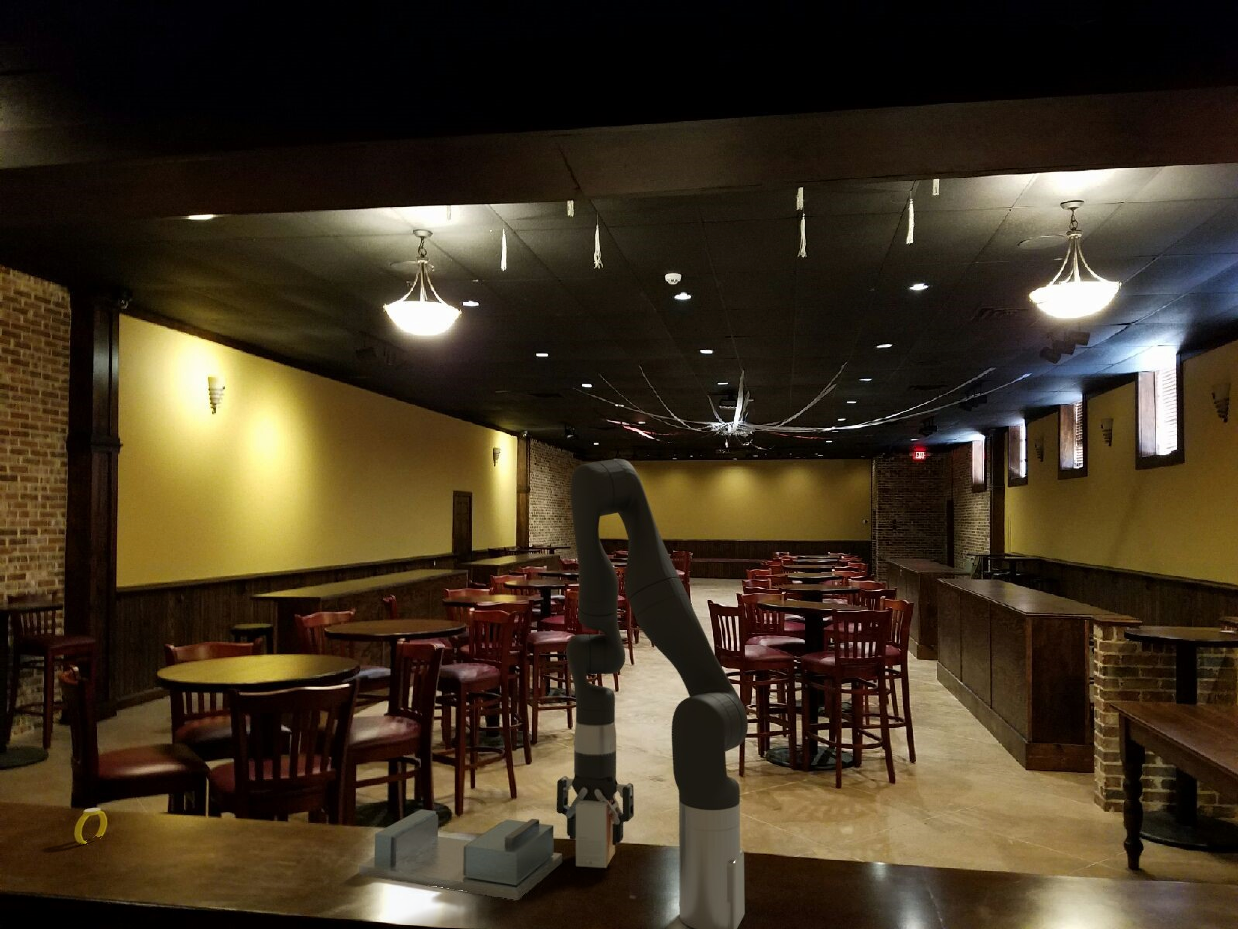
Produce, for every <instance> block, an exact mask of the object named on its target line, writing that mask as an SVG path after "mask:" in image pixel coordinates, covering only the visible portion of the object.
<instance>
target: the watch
mask: <svg viewBox="0 0 1238 929" xmlns="http://www.w3.org/2000/svg"><path fill="white" fill-rule="evenodd" d="M96 815H97V816H99V819H100V820H99V828H98V830H97V833H96V834H95V835H94V837H95V836H97V837H100V836H102V837H103V836H104V834H105V832H106V831H107V828H108V827H107V826H108V818H107V816H106V813H105V812H104V811H102V810H101V807H92V808H87V809H86V808H85V810H83V814H82V815H81V816H80V817H79V819H78V821H77V822H76V824H75V827H74V838H75V841H76V843H78V844H80V843H81V844H80V845H83V844H86V843H87V842H86V841H87V840H84V838H83V836H82V831H83V826H84V824H85V822H86V821H87V819H88V818H89V817H90V816H96Z"/></svg>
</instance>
